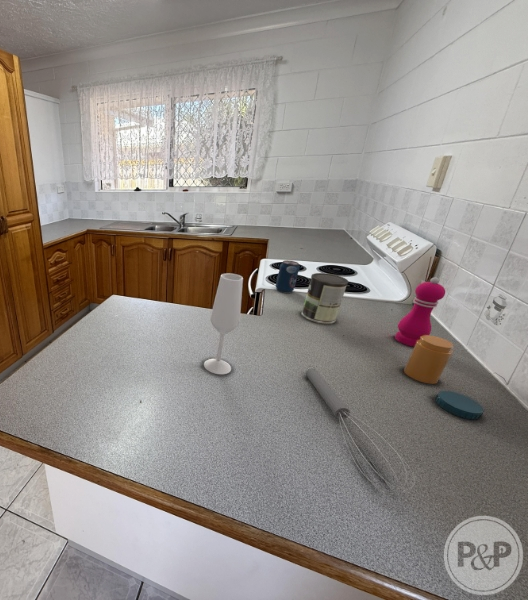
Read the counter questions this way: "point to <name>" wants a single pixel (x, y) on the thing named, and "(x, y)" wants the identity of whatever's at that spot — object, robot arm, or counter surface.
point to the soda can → (287, 276)
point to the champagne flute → (225, 316)
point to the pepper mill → (420, 313)
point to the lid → (459, 405)
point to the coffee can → (324, 297)
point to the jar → (428, 359)
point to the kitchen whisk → (343, 413)
